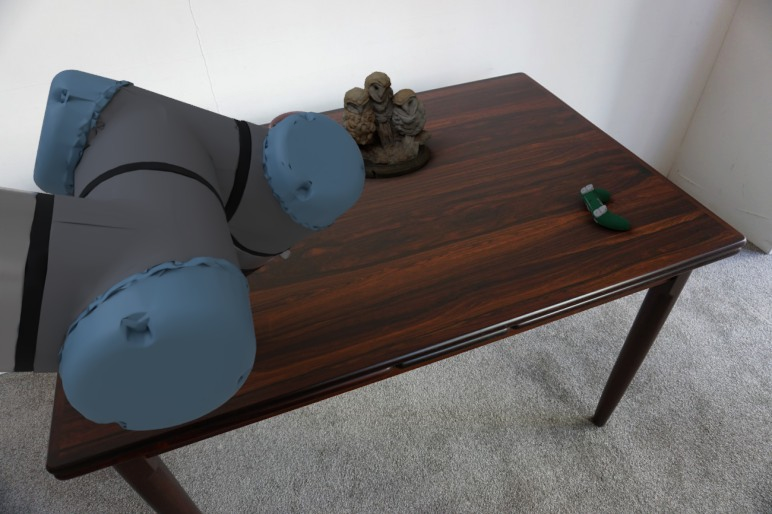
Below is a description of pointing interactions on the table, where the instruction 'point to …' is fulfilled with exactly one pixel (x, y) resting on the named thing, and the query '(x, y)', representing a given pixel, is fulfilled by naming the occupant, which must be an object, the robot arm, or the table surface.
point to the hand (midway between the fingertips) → (165, 292)
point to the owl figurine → (386, 127)
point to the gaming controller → (602, 208)
